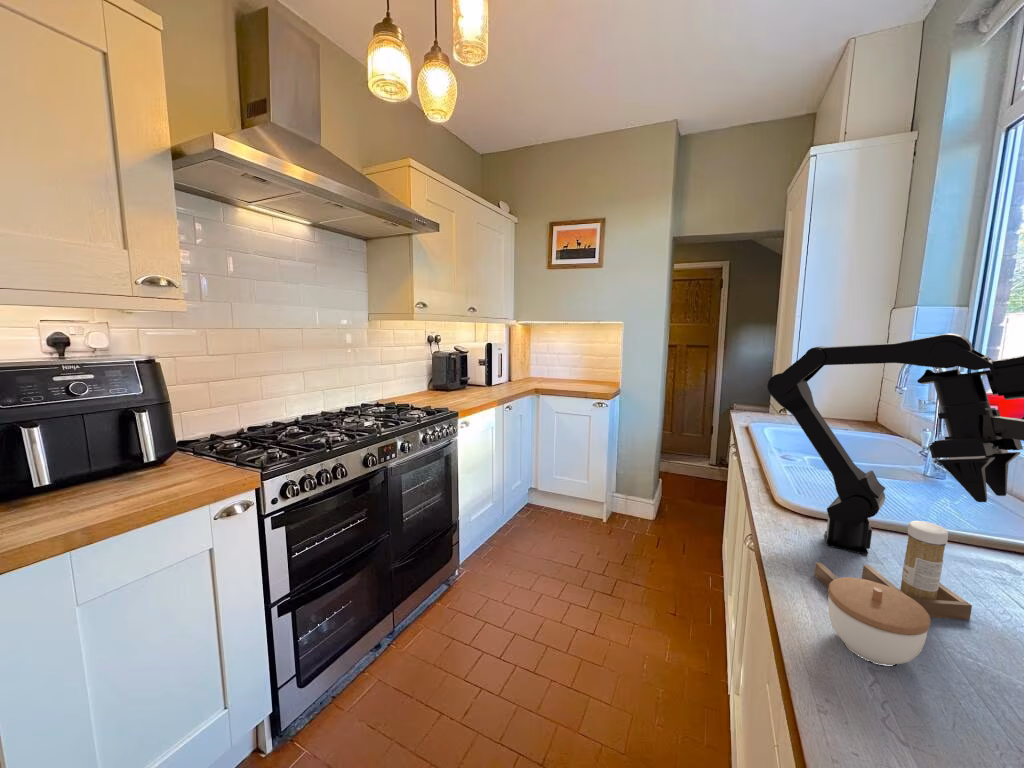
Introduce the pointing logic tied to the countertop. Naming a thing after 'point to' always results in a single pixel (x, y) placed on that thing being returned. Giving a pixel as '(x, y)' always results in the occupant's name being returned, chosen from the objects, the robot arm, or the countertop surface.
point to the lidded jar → (877, 620)
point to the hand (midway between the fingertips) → (992, 498)
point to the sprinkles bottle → (923, 560)
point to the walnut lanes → (939, 608)
